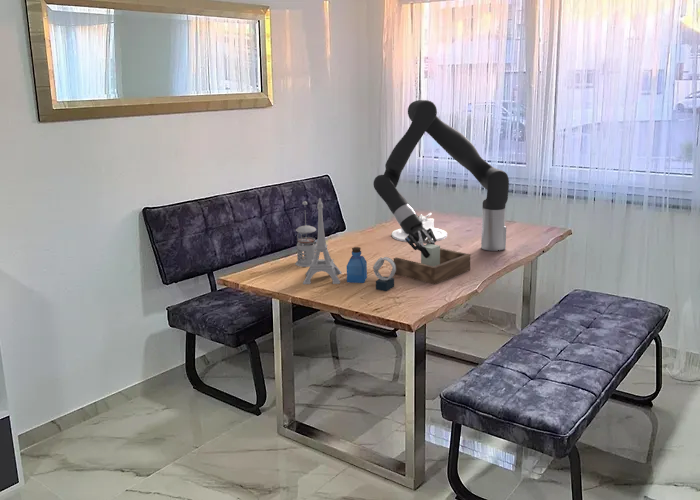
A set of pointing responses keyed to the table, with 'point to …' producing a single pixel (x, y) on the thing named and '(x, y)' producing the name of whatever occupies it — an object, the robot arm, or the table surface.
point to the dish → (426, 224)
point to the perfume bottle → (356, 267)
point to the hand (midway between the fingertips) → (432, 255)
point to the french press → (305, 245)
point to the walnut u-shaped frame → (434, 267)
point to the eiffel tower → (327, 262)
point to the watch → (384, 282)
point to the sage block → (431, 255)
